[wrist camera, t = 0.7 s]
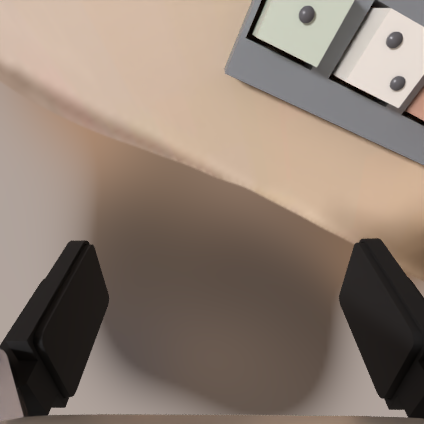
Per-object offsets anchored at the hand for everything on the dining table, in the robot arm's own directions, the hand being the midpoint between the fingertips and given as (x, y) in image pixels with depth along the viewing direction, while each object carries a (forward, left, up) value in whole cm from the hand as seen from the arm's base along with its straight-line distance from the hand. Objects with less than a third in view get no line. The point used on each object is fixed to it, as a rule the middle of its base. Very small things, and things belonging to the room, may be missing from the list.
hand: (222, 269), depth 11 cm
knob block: (-10, +3, -26) cm, 28 cm away
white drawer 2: (-10, +12, -26) cm, 30 cm away
